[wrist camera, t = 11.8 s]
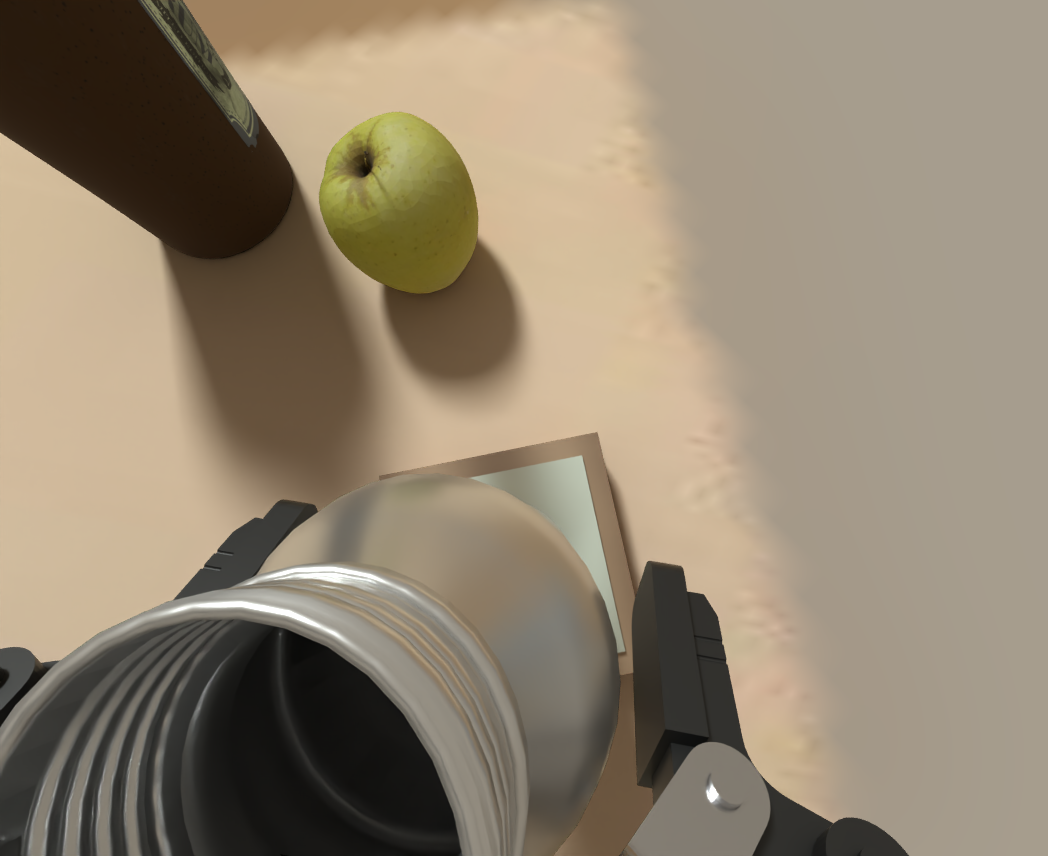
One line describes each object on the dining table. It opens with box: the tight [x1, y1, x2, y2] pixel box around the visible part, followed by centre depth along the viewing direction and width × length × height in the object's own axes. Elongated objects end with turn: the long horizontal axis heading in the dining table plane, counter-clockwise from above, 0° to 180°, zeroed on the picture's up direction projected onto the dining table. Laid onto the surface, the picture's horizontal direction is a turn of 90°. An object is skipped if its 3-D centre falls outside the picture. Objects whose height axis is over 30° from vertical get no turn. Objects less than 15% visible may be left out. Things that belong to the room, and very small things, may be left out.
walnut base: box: [379, 432, 635, 675], centre depth 24 cm, size 11×11×3 cm
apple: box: [319, 112, 478, 294], centre depth 25 cm, size 8×8×10 cm
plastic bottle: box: [0, 473, 621, 856], centre depth 13 cm, size 6×7×20 cm
